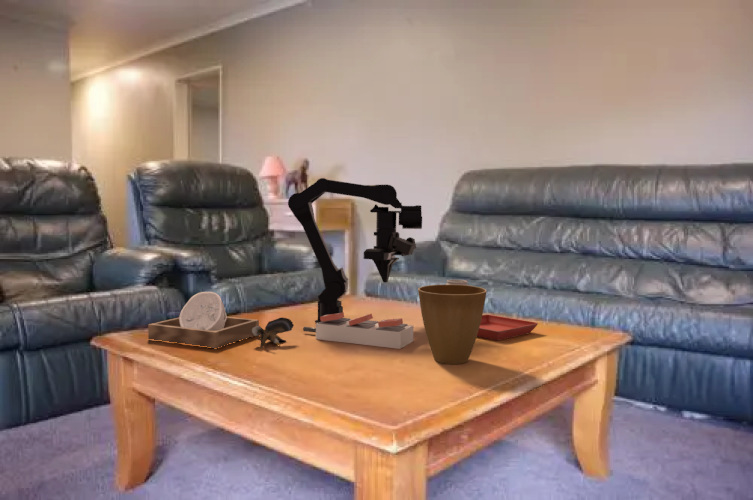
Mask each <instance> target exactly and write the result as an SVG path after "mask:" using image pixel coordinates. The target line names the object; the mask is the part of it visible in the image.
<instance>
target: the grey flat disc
mask: <svg viewBox="0 0 753 500" xmlns="http://www.w3.org/2000/svg"><path fill="white" fill-rule="evenodd" d="M224 316H225V320H224ZM178 317H179V322H180V326H181V327H185V328H193V329H202V330H210V331H216V330H220V329H223V328H224V326H225V322H226V319H227V317H228V316H227V312H226V308H225V304H224V302H223V301H222V298H221V296H220V295H219V294H218V293H216V292H214V291H200V292H197V293H196V294H194V295H192V296H191V297H190V298H189V299H188V301H187V302H186V303H185V304H184V306H183V308H182V309H181V311H180V314H179V316H178Z"/></svg>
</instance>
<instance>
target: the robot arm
mask: <svg viewBox="0 0 753 500" xmlns="http://www.w3.org/2000/svg"><path fill="white" fill-rule="evenodd" d="M326 193H329V194H335V195H336V194H337V195H344V196H349V197H356V198H357V197H358V198H361V199H365V200H366V199H367V200H370V201H372V202H375V203H378V204H380V205H381V204H382V205H385V206H378V204H374V206H373V207H372V208H371V209H370V213H376V221H375V222H376V229H375V230H376V231H373V236H376V237H375V242H376V243H375V245H373V248H372V247H371V248H366V249H364V251H363V259H364V260H372V262H373V263H374V266H375V267H376V269H377V271H378V273H379V277H380V278H381V281H382V282H383V283H388V282H389V278H390V276H391V272H392V269H393V267H394V266H393V265H394V264H395V263H396V262H397V261H399V260H400V258H399V257H396V256H402V257H405V256H410V255H413V253H414V251H415V250H416V249H417V243H416V240H415V238H413V237H407V238H402V237H400V233H399V231H397V214H398V226H402V229H405V230H413V229H414V230H422V229H423V216H422V213H423V212H422V205H419V204H418V205H402V202H400V201H399V199H398V197H397V195H398V193H397V190H396V188H395V187H394V186H393V185H391V184H358V183H352V182H347V181H345V182H344V181H339V180H332V179H328V178H325V177H321V178H319V179H317V180H316V181H315V182H314V183H312V184H311V185H310V186H308V187H306V188H305V189H303V190H302V191H301V192H294V193H293V194H292V195H290V196H289V198H288V201H287V204H288V205H287V207H288V208H289V209H290V211H291V212H292V214H293V216H294V217H295V219H296V220H297V221H298V222H299V223H300V225H301V226H302V228H303V230H304V233H305V235H306V237H307V240H308V243H310V247H311V249H312V250H313V253H314V255H315V257H316V259H317V262H318V264H319V266H320V269H321V273H322V280H323V284H324V289H323V290H322V291H321V292H320V293H319V295H318V296H317V298H318V300H317V319H316V320H314V323H315V324H316V323H319V322H321V320H320V317H322V316H324V315H329V314H336V313H343V312H344V307H343V306H342V302H343V301H342V300H339V299H340V297H342V296H343V295H344V294H345V293H346V290H347V288H348V280H349V279H348V277H347V276H346V275H345V271H344V268H343V267H340V268H338V266H337V265H336V264H335V263H334V261H333V258H332V255H331V254H330V251H329V249H328V247H327V244H326V242H325V240H324V238H323V236H322V235H323V234H322V233H321V231H320V229H319V227H318V224H317V222H316V217H315V213H314V212H315V211H314V208H313V203H315V202H316V201H317V200H319V198H320V197H322V196H323V195H324V194H326ZM389 205H390V206H391V207H393V208H394V209H400V210H389Z"/></svg>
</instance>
